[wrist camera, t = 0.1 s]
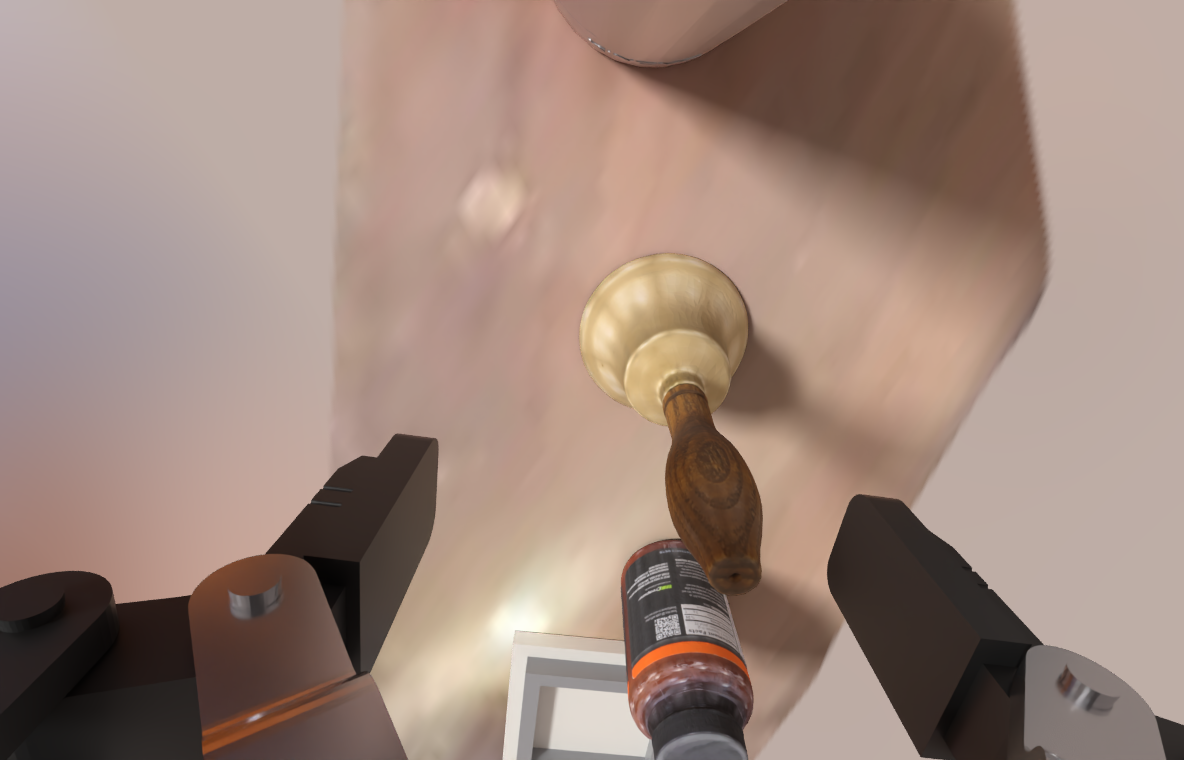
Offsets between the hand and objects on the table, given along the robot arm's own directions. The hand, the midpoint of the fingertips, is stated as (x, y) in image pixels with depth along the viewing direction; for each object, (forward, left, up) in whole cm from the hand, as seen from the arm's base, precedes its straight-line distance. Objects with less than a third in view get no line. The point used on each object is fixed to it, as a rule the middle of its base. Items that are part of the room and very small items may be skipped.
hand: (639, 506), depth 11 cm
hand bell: (+3, +3, -18) cm, 18 cm away
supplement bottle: (+18, +6, -18) cm, 25 cm away
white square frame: (+30, +3, -17) cm, 34 cm away
